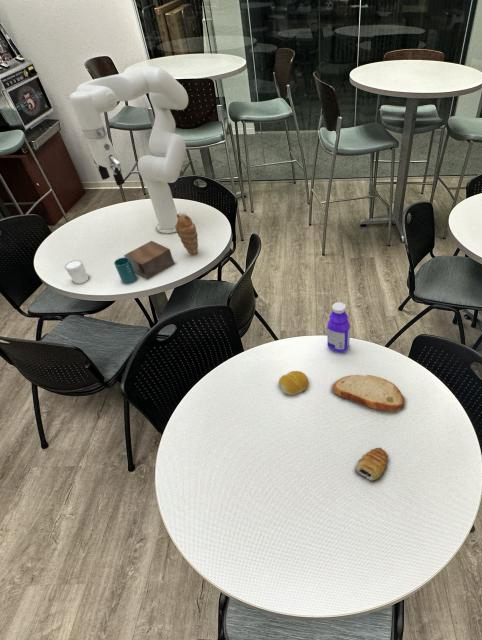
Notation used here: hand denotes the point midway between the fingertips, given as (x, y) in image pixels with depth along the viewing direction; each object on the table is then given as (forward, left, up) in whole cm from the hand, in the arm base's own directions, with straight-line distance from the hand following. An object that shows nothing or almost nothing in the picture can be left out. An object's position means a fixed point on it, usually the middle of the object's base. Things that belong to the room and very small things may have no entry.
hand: (113, 181), depth 165 cm
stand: (+5, +15, -30) cm, 34 cm away
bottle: (0, +108, -31) cm, 113 cm away
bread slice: (+12, +128, -31) cm, 132 cm away
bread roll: (+22, +107, -31) cm, 113 cm away
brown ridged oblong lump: (-12, +22, -31) cm, 39 cm away
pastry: (+32, +142, -31) cm, 149 cm away
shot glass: (+28, -2, -31) cm, 41 cm away
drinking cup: (+14, +15, -26) cm, 33 cm away
